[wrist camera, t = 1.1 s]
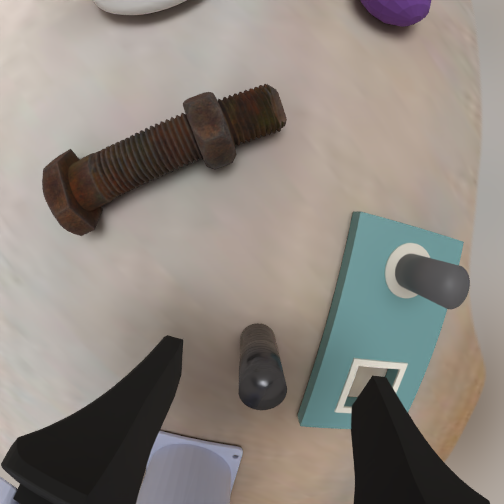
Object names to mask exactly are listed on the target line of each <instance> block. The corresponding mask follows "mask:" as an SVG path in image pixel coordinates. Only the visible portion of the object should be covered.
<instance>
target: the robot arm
mask: <svg viewBox="0 0 504 504" xmlns="http://www.w3.org/2000/svg"><path fill="white" fill-rule="evenodd" d="M182 352H183V340H182V339H179V338H175V337H171V336H168V335H167V336H165V337H164V338H163V339H162V340H161V341H160V343H159V344H158V345H157V346H156V347H155V348H154V349H153V350H152V351H151V352H150V354H149V355H148V356H147V357H146V358H145V359H144V360H143V361H142V362H141V363H140V364H138V365H137V366H136V367H135V368H134V369H133V370H132V371H131V372H130V373H129V374H128V375H127V376H126V377H124V378H123V379H122V380H121V381H120V382H118V383H117V384H116V385H115V386H114V387H112V388H111V389H110V390H109V391H107V392H106V393H105V394H103V395H102V396H101V397H99V398H98V399H96V400H95V401H93V402H92V403H90V404H89V405H87V406H85V407H84V408H82V409H81V410H79V411H77V412H76V413H74V414H72V415H70V416H68V417H66V418H64V419H62V420H60V421H58V422H56V423H54V424H52V425H50V426H48V427H45V428H43V429H40V430H38V431H35V432H32V433H29V434H27V435H24V436H21V437H18V438H17V440H16V441H15V442H14V443H13V445H12V446H11V447H10V449H9V451H8V453H7V454H6V456H5V458H4V460H3V462H2V463H1V466H2V468H3V469H4V470H5V471H6V472H7V473H8V474H9V475H11V476H12V477H13V478H14V479H15V480H16V481H17V482H19V483H20V486H19V487H18V489H17V488H16V487H14V486H13V485H11V484H9V482H7V481H6V480H4V479H3V478H1V477H0V504H230V494H231V491H232V487H233V484H234V481H235V478H236V474H237V471H238V468H239V464H240V461H241V458H242V454H243V449H242V448H241V447H238V446H232V445H225V444H219V443H214V442H208V441H203V440H198V439H193V438H189V437H184V436H180V435H175V434H171V433H167V432H163V431H160V429H161V426H162V424H163V422H164V420H165V417H166V415H167V413H168V411H169V408H170V406H171V404H172V401H173V399H174V397H175V393H176V390H177V387H178V384H179V380H180V377H181V371H182ZM351 435H352V447H353V458H354V470H355V494H354V504H490V502H489V500H487V499H486V498H484V497H483V496H482V495H480V494H479V493H477V492H476V491H474V490H473V489H472V488H470V487H469V486H468V485H467V484H466V483H464V482H463V481H462V480H461V479H460V478H459V477H458V476H457V475H456V474H455V473H454V472H453V471H451V469H450V468H449V467H448V466H447V465H446V464H445V463H444V462H443V461H442V460H441V459H440V457H439V456H438V455H437V454H436V453H435V451H434V450H433V449H432V448H431V446H430V445H429V444H428V442H427V441H426V440H425V438H424V437H423V435H422V434H421V432H420V431H419V430H418V428H417V427H416V425H415V423H414V422H413V420H412V419H411V417H410V416H409V414H408V412H407V411H406V409H405V407H404V406H403V404H402V402H401V401H400V399H399V397H398V396H397V394H396V392H395V391H394V389H393V387H392V386H391V384H390V383H389V381H388V379H387V378H386V377H379V376H372V377H371V379H370V380H369V382H368V383H367V385H366V386H365V388H364V389H363V391H362V392H361V393H360V395H359V396H358V398H357V399H356V401H355V402H354V403H353V405H352V411H351ZM234 455H238V456H234ZM145 469H146V474H145V477H144V480H143V483H142V479H143V476H144V472H145ZM141 483H142V485H141ZM140 486H141V488H140ZM139 490H140V491H139Z"/></svg>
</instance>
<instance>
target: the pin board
mask: <svg viewBox="0 0 504 504" xmlns="http://www.w3.org/2000/svg"><path fill="white" fill-rule="evenodd" d="M463 243H464V242H462V241H459V240H456V239H453V238H450V237H447V236H443V235H440V234H437V233H434V232H430V231H427V230H424V229H420V228H417V227H414V226H410V225H407V224H403V223H400V222H396V221H393V220H389V219H386V218H382V217H379V216H375V215H371V214H367V213H364V212H353V215H352V219H351V224H350V229H349V234H348V238H347V243H346V247H345V252H344V256H343V260H342V265H341V269H340V273H339V277H338V281H337V285H336V289H335V293H334V297H333V301H332V304H331V308H330V312H329V316H328V319H327V323H326V326H325V330H324V333H323V337H322V340H321V344H320V347H319V350H318V354H317V357H316V360H315V364H314V367H313V370H312V373H311V376H310V379H309V382H308V386H307V389H306V392H305V395H304V398H303V401H302V403H301V406H300V409H299V412H298V415H297V416H298V419H299V423H300V426H305V427H319V428H338V429H351V411H352V405H353V403H354V402H355V401H356V399H357V398H358V397H347V396H348V394H349V391H350V388H351V386H352V383H353V380H354V378H355V375H356V372H357V369H358V367H359V366H365V367H376V368H388V371H387V374H386V376H385V377H386V378H387V379H388V381H389V383H390V384H391V386H392V387H393V389H394V391H395V392H396V394H397V396H398V397H399V399H400V401H401V402H402V404H403V406H404V407H405V409H406V411H407V412H408V411H409V409H410V407H411V404H412V402H413V400H414V398H415V396H416V393H417V391H418V389H419V386H420V384H421V382H422V379H423V377H424V374H425V372H426V369H427V367H428V364H429V362H430V359H431V356H432V354H433V351H434V348H435V345H436V342H437V340H438V337H439V334H440V331H441V328H442V324H443V321H444V318H445V315H446V312H447V309H454V308H457V307H458V306H460V305H461V304H462V303H463V301H464V300H465V298H466V297H467V294H468V291H469V286H470V280H469V275H468V273H467V271H466V270H465V269H464V268H463V267H462V266H459V262H460V257H461V253H462V248H463Z"/></svg>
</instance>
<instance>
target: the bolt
mask: <svg viewBox="0 0 504 504" xmlns="http://www.w3.org/2000/svg"><path fill="white" fill-rule="evenodd" d="M183 107H184V110H185V112H186V115H185V114H183V113H182V114H181V116H178V115H176V118H175V119H174V118H173V117H171V120H170V121H169V120H167V119H166V121H165V123H164V122H162V121H161V122H160V125H158V124H155V128H154V127H153V126H150V130H149V129H147V128H145V132H144V131H142V130H141V131H140V134H139V133H135V136H133V135H132V136H130V138H126V139H125V140H121V141H120V143H119V142H117V143H115V145H114V144H112V145H111V146H110V147H109V146H108V147H106V149H102V150H101V151H98V152H96V153H92V154H90V155H88V156H86V157H84V158H82V159H79V158H78V157H77V156H76V155H75V154H74V152H73V151H72V150H71V149H70V150H68V151H66V152H65V153H63V154H61V155H60V156H58V157H57V158H55V159H54V160H53V161H52V162H50V163H49V164H48V165H47V166H46V167H45V168H44V169H43V180H42V185H43V193H44V197H45V200H46V202H47V204H48V206H49V208H50V210H51V212H52V214H53V215H54V217H55V218H56V219H57V221H58V222H59V224H60V225H61V226H62V227H63V228H64V229H66V230H67V231H69V232H71V233H73V234H77V235H80V236H82V235H84V234H87V233H89V232H91V231H93V230H95V228H96V225H97V222H98V220H99V217H100V215H101V212H102V208H101V206H103V205H105V204H107V203H109V202H111V201H112V200H113V199H114V198H115V197H117V196H120V195H121V194H124V193H125V192H128V191H130V189H131V190H132V189H134V188H135V187H139V186H140V185H143V184H144V183H145V182H146V183H148V182H149V179H150V180H151V181H152V180H154V178H158V177H159V176H163V174H164V173H165V174H168V172H169V171H170V172H173V170H174V169H176V170H178V167H179V166H180V167H182V168H183V165H184V164H185V165H188V163H189V162H191V163H193V161H194V160H196V161H198V159H199V158H201V159H204V161H205V163H206V166H207V167H210V168H213V169H217V168H220V167H222V166H225V165H227V164H230V163H232V162H233V160H234V158H235V156H236V151H235V147H234V146H235V144H237V145H239V144H240V142H242V143H245V140H246V141H248V142H249V141H250V139H252V140H255V137H257V138H260V136H261V135H262V136H265V135H266V133H267V134H269V135H270V134H271V132H273V133H275V132H276V130H277V131H279V132H280V131H281V128H283V127H284V126H285V124H286V120H287V119H286V116H285V112H284V109H283V106H282V103H281V100H280V97H279V94H278V92H277V91H276V89H274V88H273V87H271V86H269V85H268V84H264V86H262V85H260V86H259V88H258V87H255V88H254V90H253V89H249V91H247V90H245V91H244V93H242V92H239V94H238V95H237V94H234V95H233V97H232V96H230V95H229V97H228V99H227V98H226V97H224V98H223V100H220V99H218V101H217V99H216V97H215V95H214V94H213V93H211V92H206V93H202V94H199V95H197V96H194V97H192V98H189V99H187V100H186V101H184V103H183Z"/></svg>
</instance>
